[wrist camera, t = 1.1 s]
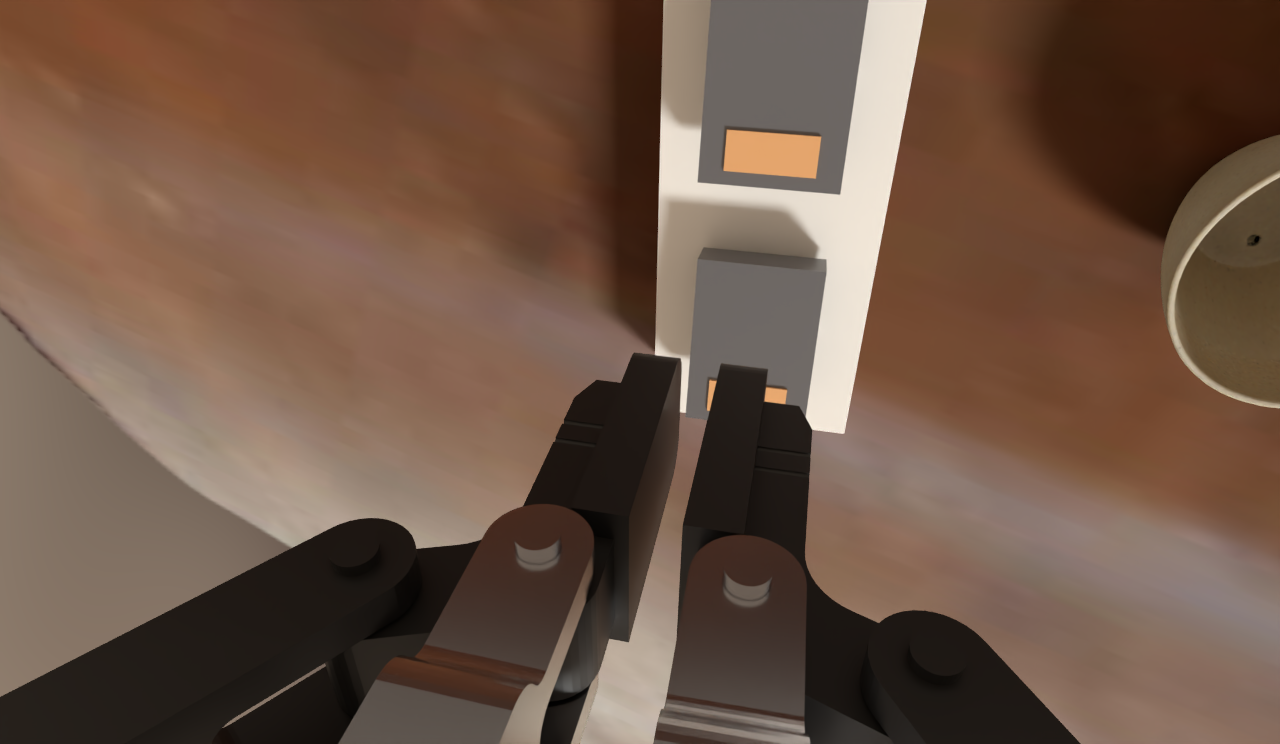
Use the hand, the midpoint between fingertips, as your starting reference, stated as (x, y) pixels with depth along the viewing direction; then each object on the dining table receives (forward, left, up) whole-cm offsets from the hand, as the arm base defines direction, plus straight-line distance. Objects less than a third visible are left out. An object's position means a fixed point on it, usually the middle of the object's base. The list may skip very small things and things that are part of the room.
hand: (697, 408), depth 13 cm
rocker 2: (0, +11, -20) cm, 22 cm away
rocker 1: (0, 0, -20) cm, 20 cm away
